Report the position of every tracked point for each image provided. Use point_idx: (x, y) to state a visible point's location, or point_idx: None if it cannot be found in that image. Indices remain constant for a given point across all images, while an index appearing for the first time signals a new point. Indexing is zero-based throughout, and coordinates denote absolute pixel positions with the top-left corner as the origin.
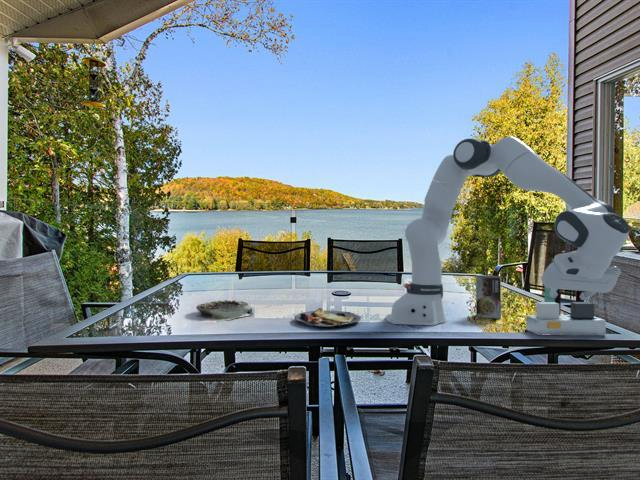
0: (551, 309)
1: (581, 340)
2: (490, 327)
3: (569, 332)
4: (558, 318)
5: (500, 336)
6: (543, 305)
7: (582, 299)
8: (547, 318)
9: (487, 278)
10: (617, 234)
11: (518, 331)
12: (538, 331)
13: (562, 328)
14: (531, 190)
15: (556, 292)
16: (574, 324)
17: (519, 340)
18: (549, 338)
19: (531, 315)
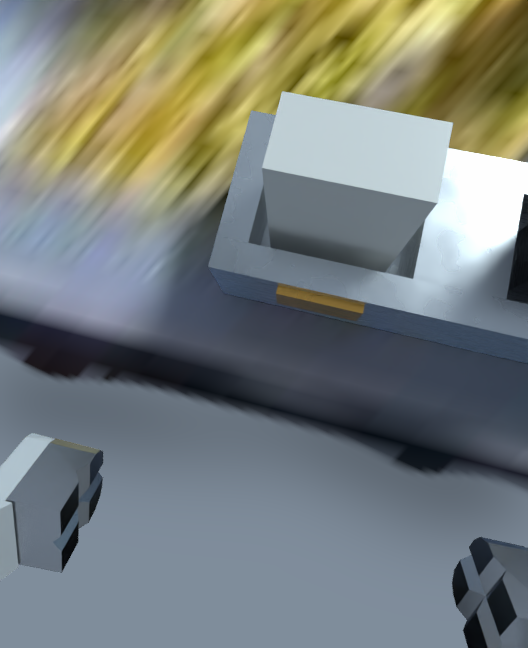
0: (353, 212)
1: (392, 445)
2: (100, 84)
3: (411, 332)
4: (396, 252)
5: (16, 259)
6: (285, 180)
7: (458, 600)
8: (315, 235)
9: None
10: None
11: (186, 190)
12: (223, 288)
13: (372, 317)
14: None
15: (46, 546)
16: (462, 331)
17: (52, 354)
18: (243, 360)
19: None
